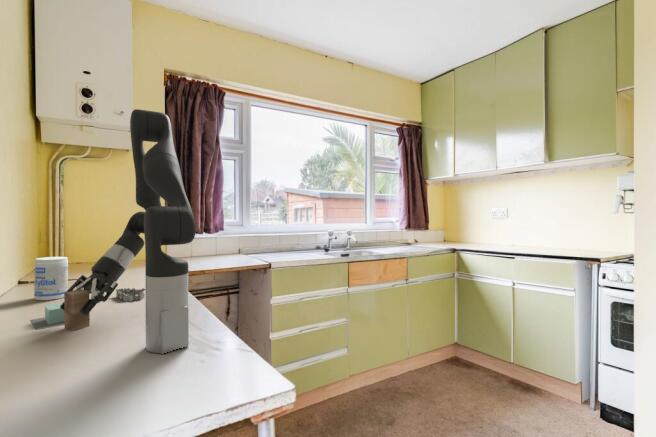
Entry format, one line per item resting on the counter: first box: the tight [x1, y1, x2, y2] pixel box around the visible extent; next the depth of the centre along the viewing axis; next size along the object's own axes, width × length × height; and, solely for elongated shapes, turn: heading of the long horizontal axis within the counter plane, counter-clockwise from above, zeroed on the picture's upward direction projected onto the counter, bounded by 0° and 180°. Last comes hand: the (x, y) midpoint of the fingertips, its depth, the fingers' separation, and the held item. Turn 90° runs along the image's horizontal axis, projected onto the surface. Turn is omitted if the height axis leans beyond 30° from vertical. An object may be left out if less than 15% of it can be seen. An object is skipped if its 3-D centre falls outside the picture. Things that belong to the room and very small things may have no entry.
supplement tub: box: [33, 256, 69, 301], centre depth 124 cm, size 10×10×15 cm
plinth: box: [44, 303, 65, 325], centre depth 98 cm, size 6×6×4 cm
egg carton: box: [114, 287, 146, 303], centre depth 125 cm, size 11×8×4 cm
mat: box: [29, 316, 65, 331], centre depth 99 cm, size 12×12×1 cm
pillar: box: [63, 290, 91, 331], centre depth 92 cm, size 4×4×10 cm
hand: (72, 311), depth 91 cm, fingers open, 8 cm apart
